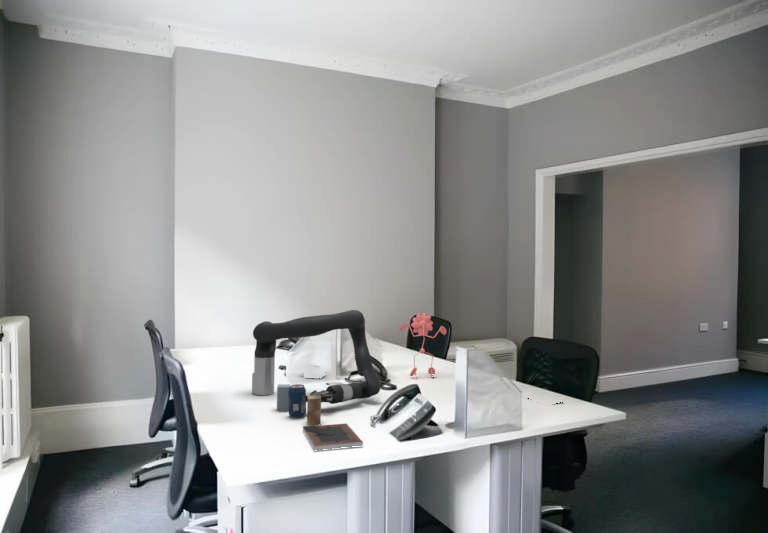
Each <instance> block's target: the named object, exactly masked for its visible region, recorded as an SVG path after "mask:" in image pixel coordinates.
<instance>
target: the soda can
mask: <svg viewBox="0 0 768 533" xmlns="http://www.w3.org/2000/svg"><path fill="white" fill-rule="evenodd" d="M306 396H307V389H306V388H305V385H304V384H297V383H296V384H292V385H291V384H290V388H289V391H288V400H289V411H288V415H289V417H291V418H292V417H293V419H299V418H304V417H305V415H307V402H306Z"/></svg>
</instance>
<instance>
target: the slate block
mask: <svg viewBox="0 0 768 533" xmlns="http://www.w3.org/2000/svg"><path fill="white" fill-rule="evenodd" d="M290 386H291V384H290V383H289V384H282V383H281V384H280V383H279V384H277V387H276V390H277V391H276V412H277V411H279V412H289V400H288V391H289V388H290Z"/></svg>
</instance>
